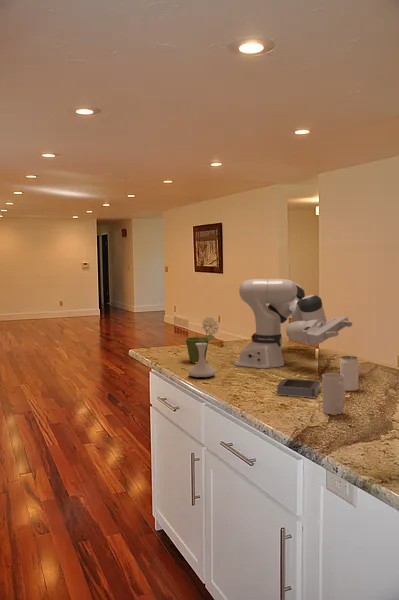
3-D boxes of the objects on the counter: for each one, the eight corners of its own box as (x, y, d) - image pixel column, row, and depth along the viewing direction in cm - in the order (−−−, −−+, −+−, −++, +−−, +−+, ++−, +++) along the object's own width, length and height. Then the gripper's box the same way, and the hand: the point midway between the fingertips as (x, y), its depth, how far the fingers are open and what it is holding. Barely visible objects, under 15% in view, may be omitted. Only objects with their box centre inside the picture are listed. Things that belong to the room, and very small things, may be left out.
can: (359, 391, 197) (359, 359, 196) (340, 391, 198) (340, 358, 197) (357, 387, 203) (357, 355, 202) (339, 386, 204) (339, 355, 203)
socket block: (275, 395, 194) (275, 386, 194) (283, 385, 207) (283, 378, 207) (314, 398, 189) (314, 389, 189) (321, 388, 202) (321, 380, 202)
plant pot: (214, 363, 251) (213, 339, 250) (190, 365, 247) (189, 341, 246) (204, 358, 262) (204, 335, 261) (181, 361, 258) (181, 337, 257)
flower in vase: (192, 380, 218) (191, 319, 216) (185, 374, 229) (184, 316, 227) (223, 378, 222) (222, 317, 220) (214, 372, 233) (214, 314, 231)
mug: (318, 410, 175) (318, 373, 174) (336, 408, 177) (336, 372, 176) (333, 419, 166) (333, 381, 165) (353, 417, 167) (353, 379, 166)
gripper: (334, 327, 230) (361, 326, 219) (304, 347, 218) (331, 346, 207) (330, 313, 229) (357, 311, 218) (299, 332, 217) (326, 331, 206)
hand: (344, 328), depth 212 cm, fingers open, 8 cm apart
